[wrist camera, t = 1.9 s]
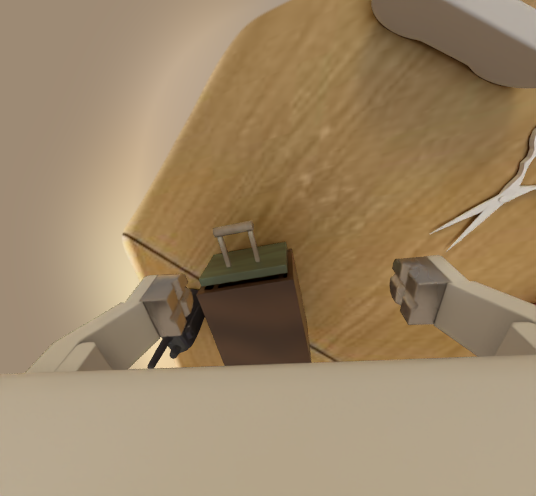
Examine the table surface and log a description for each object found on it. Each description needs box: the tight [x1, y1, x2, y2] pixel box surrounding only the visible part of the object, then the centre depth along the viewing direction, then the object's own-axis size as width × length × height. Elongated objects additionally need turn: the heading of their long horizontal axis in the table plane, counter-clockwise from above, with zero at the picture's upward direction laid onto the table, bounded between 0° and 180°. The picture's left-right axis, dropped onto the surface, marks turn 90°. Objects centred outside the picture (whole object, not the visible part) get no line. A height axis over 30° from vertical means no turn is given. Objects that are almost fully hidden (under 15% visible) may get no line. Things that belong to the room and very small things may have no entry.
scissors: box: [430, 128, 536, 252], centre depth 32 cm, size 11×1×20 cm
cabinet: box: [197, 249, 311, 366], centre depth 37 cm, size 15×13×9 cm
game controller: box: [371, 0, 536, 88], centre depth 23 cm, size 20×2×8 cm, turn 68°
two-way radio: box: [148, 289, 205, 369], centre depth 36 cm, size 6×4×15 cm
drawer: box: [199, 221, 288, 289], centre depth 36 cm, size 19×11×7 cm, turn 12°
